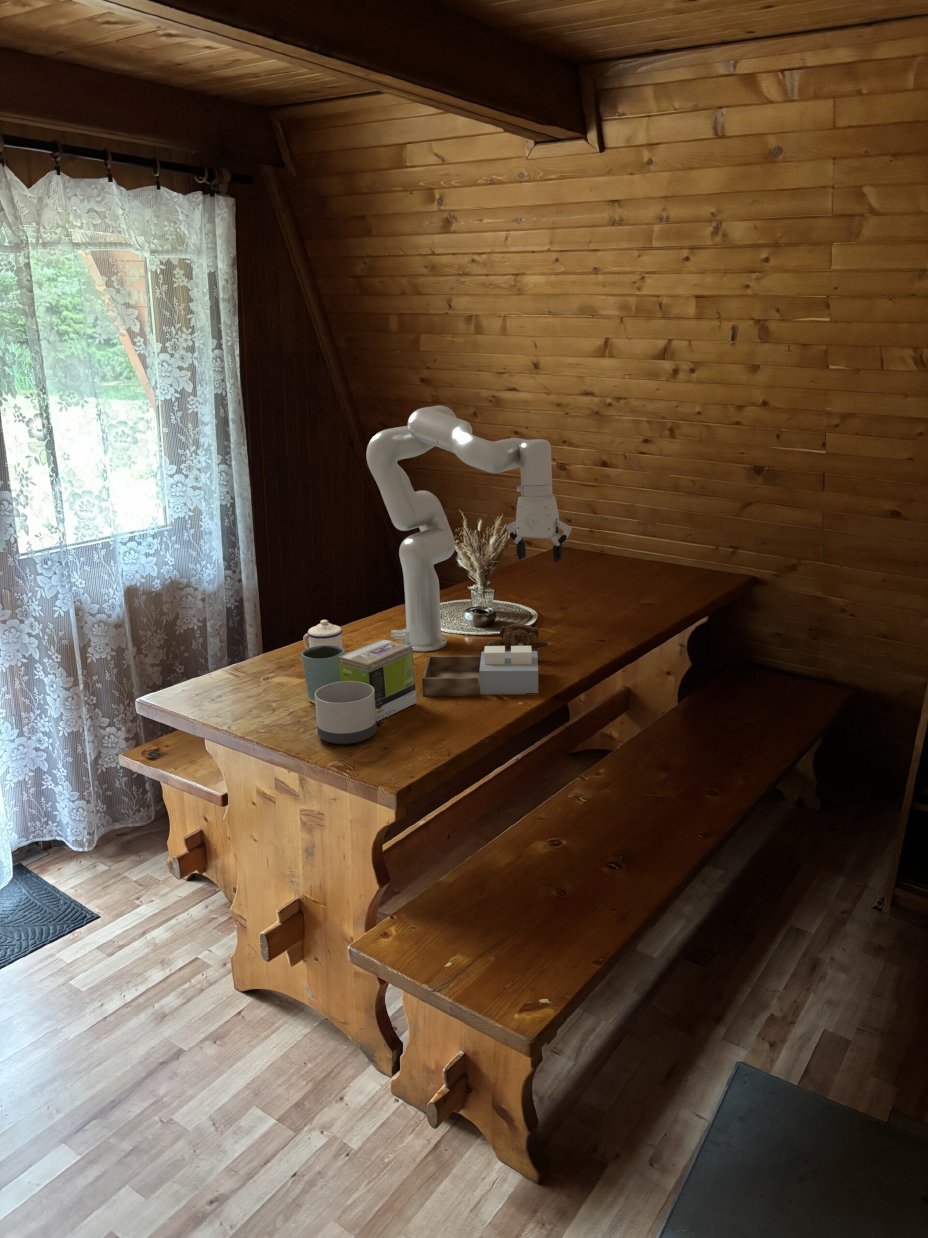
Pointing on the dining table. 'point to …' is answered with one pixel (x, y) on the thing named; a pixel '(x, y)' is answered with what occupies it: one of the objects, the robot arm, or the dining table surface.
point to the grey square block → (509, 676)
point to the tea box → (383, 674)
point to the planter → (345, 712)
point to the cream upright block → (521, 655)
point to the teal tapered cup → (321, 667)
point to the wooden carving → (519, 638)
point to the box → (451, 676)
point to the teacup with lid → (323, 635)
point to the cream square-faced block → (494, 655)
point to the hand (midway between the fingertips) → (539, 559)
